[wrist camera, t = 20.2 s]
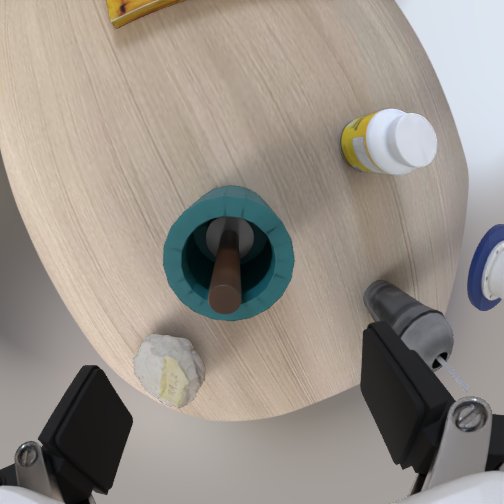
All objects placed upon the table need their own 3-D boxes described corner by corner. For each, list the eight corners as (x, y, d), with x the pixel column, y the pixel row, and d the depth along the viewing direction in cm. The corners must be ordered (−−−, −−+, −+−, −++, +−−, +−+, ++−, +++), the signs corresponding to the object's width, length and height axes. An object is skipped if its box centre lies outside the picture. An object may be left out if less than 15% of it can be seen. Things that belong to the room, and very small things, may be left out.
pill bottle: (383, 122, 29) (442, 109, 17) (385, 172, 30) (445, 180, 19) (335, 117, 28) (383, 97, 17) (338, 171, 30) (388, 176, 19)
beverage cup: (377, 260, 34) (479, 344, 15) (407, 286, 35) (499, 365, 16) (344, 304, 35) (418, 413, 16) (377, 325, 37) (449, 421, 18)
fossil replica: (151, 383, 38) (213, 377, 39) (145, 424, 31) (216, 420, 32) (125, 323, 34) (195, 314, 35) (109, 364, 26) (194, 358, 27)
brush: (247, 204, 30) (261, 248, 14) (256, 246, 32) (276, 328, 15) (204, 213, 30) (168, 267, 14) (214, 254, 32) (194, 343, 15)
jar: (265, 178, 30) (282, 184, 19) (279, 259, 33) (301, 307, 22) (180, 196, 30) (148, 213, 19) (200, 274, 33) (183, 329, 22)
